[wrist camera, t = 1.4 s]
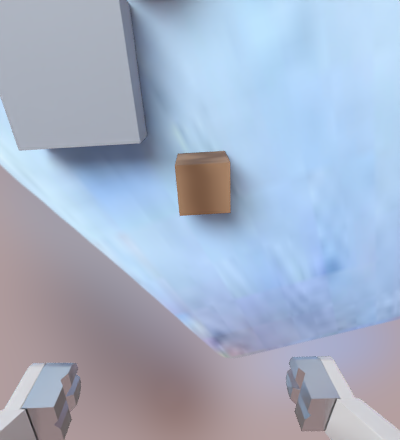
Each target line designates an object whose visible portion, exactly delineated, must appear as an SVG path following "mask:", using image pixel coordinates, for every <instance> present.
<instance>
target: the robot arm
mask: <svg viewBox="0 0 400 440" xmlns="http://www.w3.org/2000/svg"><path fill="white" fill-rule="evenodd" d="M289 365H290V367H291V369H290V370H289V371H288V372H287V376H286V385H287V390H288V394H289V396H290V399H291V400H292V401H293V402H294V403H295V404H296V408H295V414H296V417H297V419H298V422H299V425H300V427H301V431H325V433H326V434H327V435H328V437H329V438H330V439H331V440H400V430H398V429H397V428H396V427H395V426H394V425H392V424H391V423H390V422H389V421H387V420H386V419H385V418H384V417H382V416H381V415H380V414H379V413H377V412H376V411H375V410H374V409H372V408H371V407H370V406H369V405H367V404H366V403H365V402H363V401H362V400H361V399H360V398H355V396H354V394H353V393H352V391H351V389H350V387H349V386H348V384H347V382H346V381H345V379H344V377H343V375H342V374H341V372H340V370H339V368H338V367H337V365H336V363H335V361H334V360H333V358H332V357H330V356H325V357H316V356H313V357H292V358H291V359H290V362H289ZM77 370H78V367H77V364H76V363H33V364H32V365H31V366H30V367H29V368H28V369H27V371H26V372H25V374H24V376H23V378H22V379H21V381H20V383H19V384H18V386H17V388H16V390H15V391H14V393H13V395H12V397H11V398H10V400H9V402H8V403H7V405H6V407H5V408H4V410H0V440H64V439H65V436H66V433H67V431H68V428H69V425H70V422H71V420H72V419H71V415H70V412H71V411H72V410H73V409H74V408H75V407H76V405H77V402H78V399H79V396H80V390H81V380H80V377H79V376H78V375H76V373H77Z"/></svg>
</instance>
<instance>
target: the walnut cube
mask: <svg viewBox="0 0 400 440" xmlns="http://www.w3.org/2000/svg"><path fill="white" fill-rule="evenodd" d="M175 172H176V182H177V192H178V203H179V213H180V216H183V215H200V214H217V213H230V161H229V159H228V157H227V155H226V153H225V151H217V152H200V153H183V154H178V155H177V159H176V163H175Z"/></svg>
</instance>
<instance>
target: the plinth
mask: <svg viewBox="0 0 400 440" xmlns="http://www.w3.org/2000/svg"><path fill="white" fill-rule="evenodd" d="M0 97H1V100H2V103H3V105H4V108H5V111H6V114H7V117H8V120H9V123H10V126H11V129H12V132H13V135H14V137H15V140H16V143H17V146H18V149H19V150H36V149H52V148H69V147H86V146H103V145H119V144H136V143H141V142H142V141H143V140H144V139H145V138H146V137H147V131H146V124H145V117H144V109H143V102H142V94H141V87H140V80H139V72H138V65H137V58H136V50H135V43H134V36H133V28H132V21H131V13H130V6H129V3H128V1H127V0H0Z"/></svg>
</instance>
